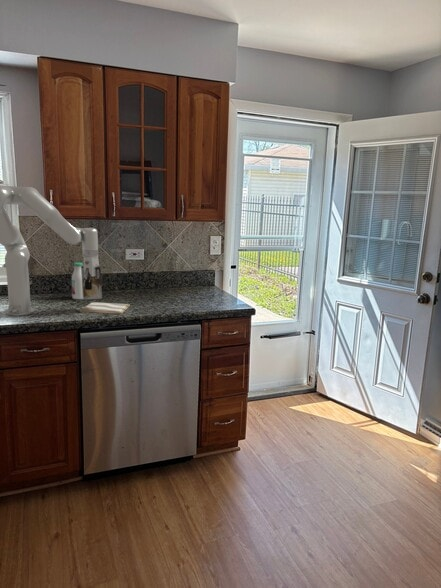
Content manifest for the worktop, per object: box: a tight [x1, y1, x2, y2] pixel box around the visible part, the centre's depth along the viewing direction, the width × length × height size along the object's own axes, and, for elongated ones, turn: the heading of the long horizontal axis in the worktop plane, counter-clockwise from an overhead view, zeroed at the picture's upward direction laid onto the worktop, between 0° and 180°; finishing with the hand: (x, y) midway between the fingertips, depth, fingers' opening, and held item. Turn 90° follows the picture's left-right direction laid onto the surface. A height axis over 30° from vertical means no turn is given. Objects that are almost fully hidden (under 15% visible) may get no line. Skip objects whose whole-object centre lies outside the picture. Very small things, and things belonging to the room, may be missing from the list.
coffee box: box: [81, 265, 103, 301], centre depth 212 cm, size 9×6×16 cm
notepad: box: [79, 301, 131, 315], centre depth 219 cm, size 17×21×1 cm
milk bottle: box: [71, 262, 84, 300], centre depth 235 cm, size 8×8×20 cm
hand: (91, 287), depth 213 cm, fingers closed on coffee box, 8 cm apart
